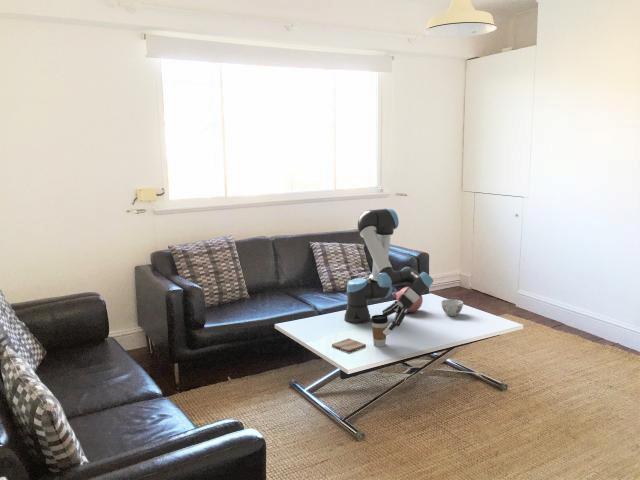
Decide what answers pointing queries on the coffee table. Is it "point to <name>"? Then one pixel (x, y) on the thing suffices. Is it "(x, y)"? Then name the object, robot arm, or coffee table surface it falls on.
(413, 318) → the coffee table surface
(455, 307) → the teacup
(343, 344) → the plate
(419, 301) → the pink rubber ball
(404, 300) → the robot arm
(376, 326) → the coffee cup
